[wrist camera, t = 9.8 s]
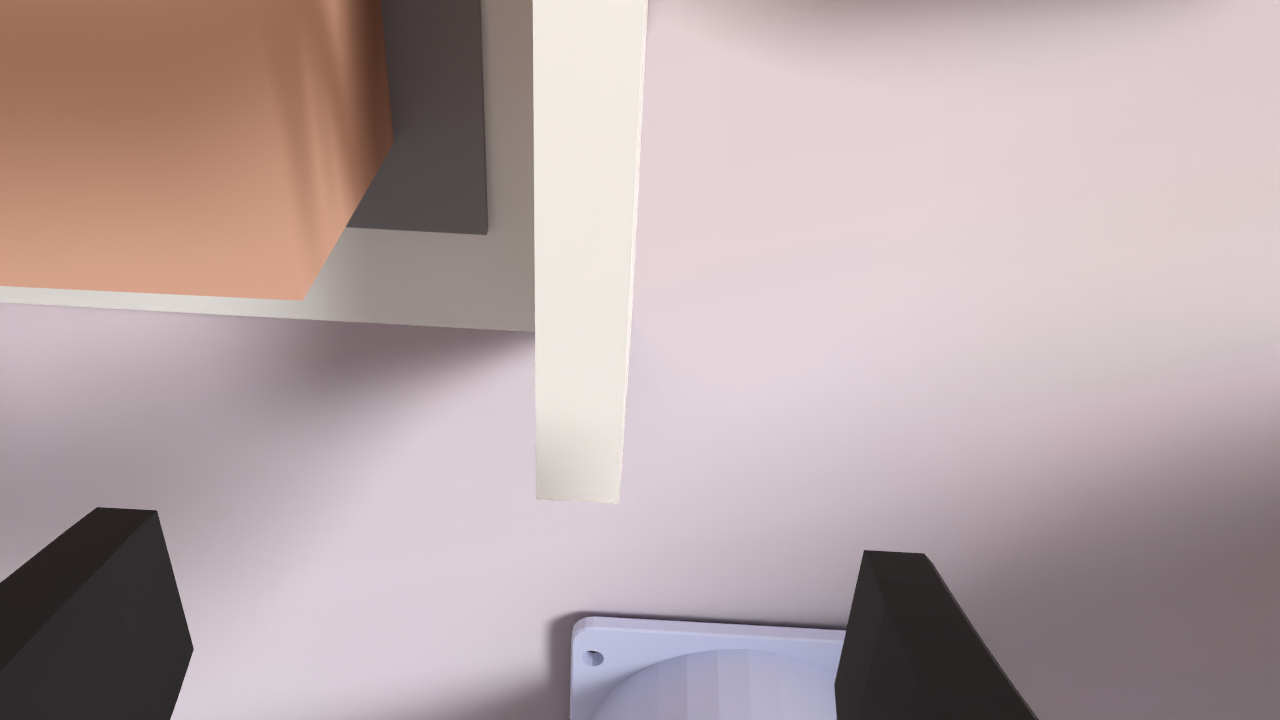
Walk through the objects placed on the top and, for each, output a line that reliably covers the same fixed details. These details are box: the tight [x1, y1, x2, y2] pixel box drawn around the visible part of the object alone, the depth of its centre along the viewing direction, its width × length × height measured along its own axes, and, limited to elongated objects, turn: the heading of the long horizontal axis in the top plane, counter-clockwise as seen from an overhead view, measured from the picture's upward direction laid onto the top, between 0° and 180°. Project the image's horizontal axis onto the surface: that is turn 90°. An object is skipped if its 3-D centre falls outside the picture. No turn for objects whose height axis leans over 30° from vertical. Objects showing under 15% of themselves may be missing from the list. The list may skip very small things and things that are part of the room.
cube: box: [0, 0, 394, 301], centre depth 14 cm, size 5×5×5 cm
